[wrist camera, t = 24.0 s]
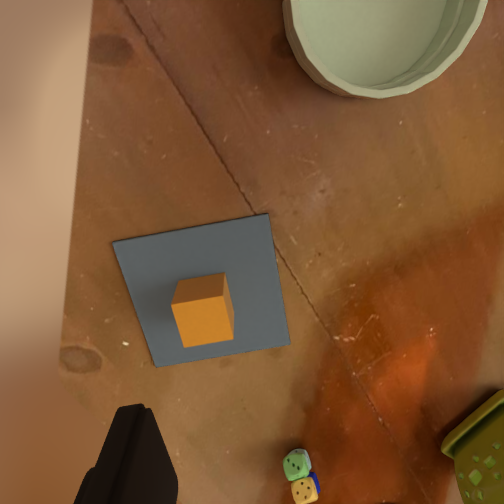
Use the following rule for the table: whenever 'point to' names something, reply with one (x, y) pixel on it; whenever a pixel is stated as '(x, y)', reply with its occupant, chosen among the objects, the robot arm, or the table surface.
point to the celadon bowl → (378, 42)
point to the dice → (301, 476)
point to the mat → (203, 264)
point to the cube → (203, 310)
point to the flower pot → (479, 453)
